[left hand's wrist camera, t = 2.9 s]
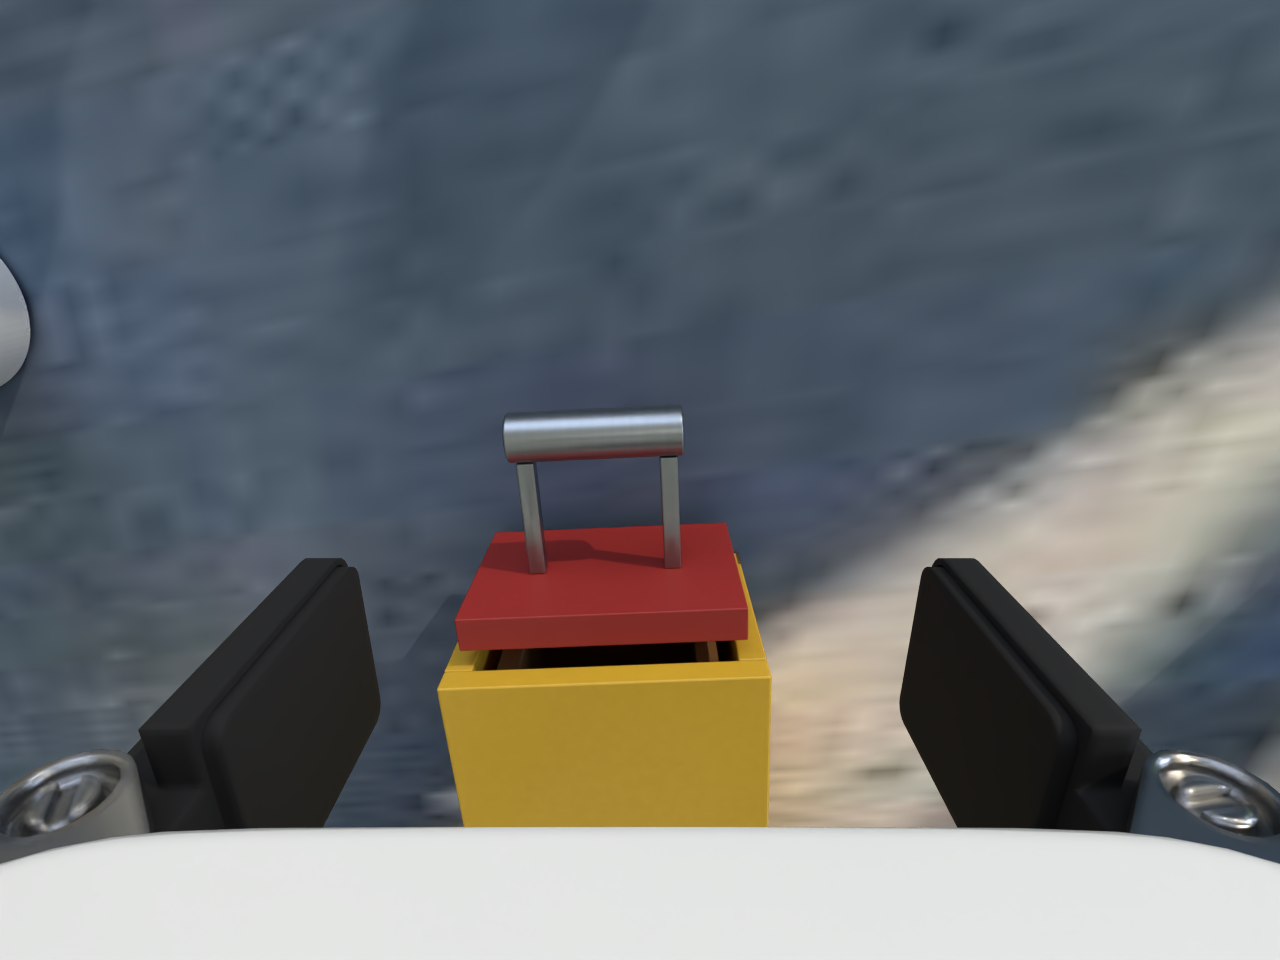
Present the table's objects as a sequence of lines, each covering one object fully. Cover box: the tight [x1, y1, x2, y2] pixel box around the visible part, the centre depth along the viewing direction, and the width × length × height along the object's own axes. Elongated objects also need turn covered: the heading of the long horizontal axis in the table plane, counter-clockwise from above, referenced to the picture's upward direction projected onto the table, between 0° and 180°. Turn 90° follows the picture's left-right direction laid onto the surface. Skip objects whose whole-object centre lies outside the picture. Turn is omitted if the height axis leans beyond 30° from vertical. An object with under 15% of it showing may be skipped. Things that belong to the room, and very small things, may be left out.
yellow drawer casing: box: [437, 552, 771, 827], centre depth 28 cm, size 19×11×8 cm, turn 3°
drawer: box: [454, 405, 748, 670], centre depth 26 cm, size 23×9×6 cm, turn 3°
